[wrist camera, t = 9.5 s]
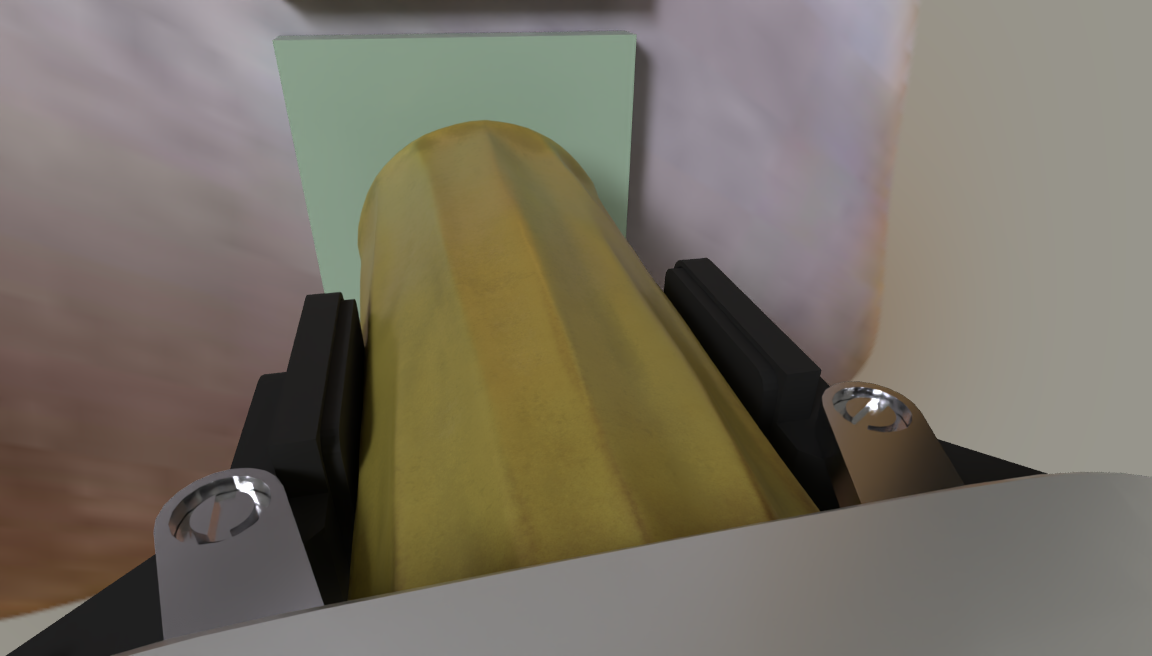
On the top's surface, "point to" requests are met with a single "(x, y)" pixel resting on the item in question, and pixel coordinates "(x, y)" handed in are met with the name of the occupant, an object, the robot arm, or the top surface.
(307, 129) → the green coaster
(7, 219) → the top surface
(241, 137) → the top surface
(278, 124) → the top surface
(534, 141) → the vase
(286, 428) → the robot arm
